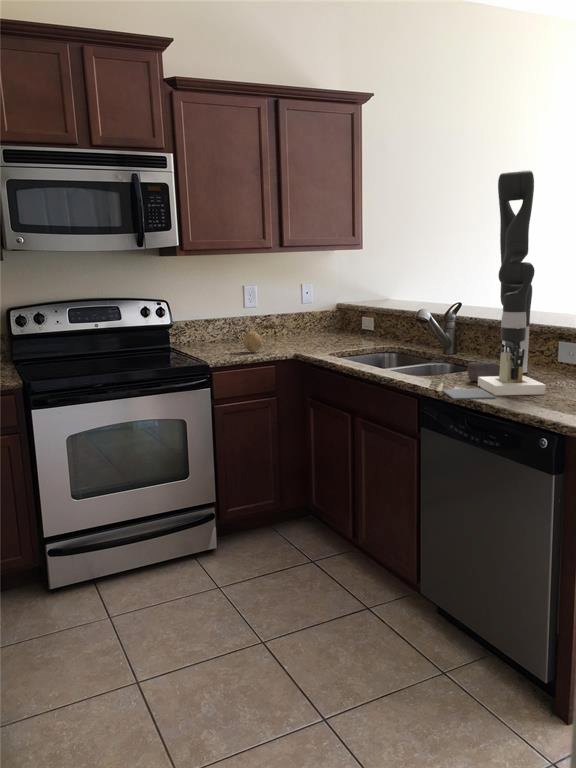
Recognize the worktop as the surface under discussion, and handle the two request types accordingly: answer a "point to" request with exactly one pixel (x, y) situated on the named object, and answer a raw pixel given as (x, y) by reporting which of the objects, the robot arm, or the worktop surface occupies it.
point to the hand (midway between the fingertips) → (510, 377)
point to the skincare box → (508, 369)
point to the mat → (468, 394)
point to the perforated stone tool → (482, 370)
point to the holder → (511, 386)
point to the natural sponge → (252, 341)
